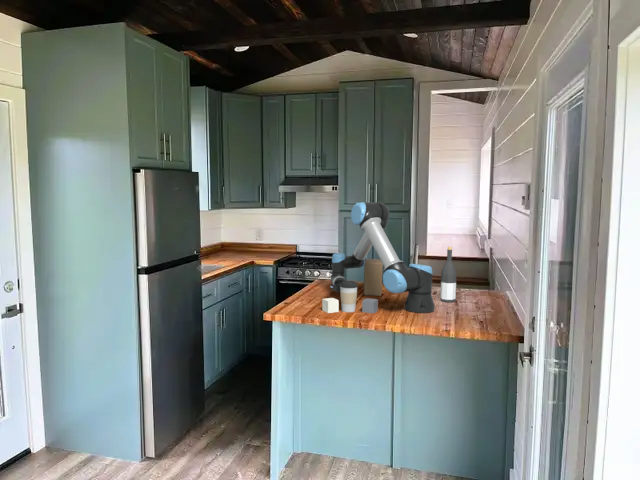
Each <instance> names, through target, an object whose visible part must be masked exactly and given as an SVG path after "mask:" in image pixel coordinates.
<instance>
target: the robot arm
mask: <svg viewBox="0 0 640 480" xmlns="http://www.w3.org/2000/svg"><path fill="white" fill-rule="evenodd" d="M390 217H391V214H390V210H389V208H388V206H387V205H386V204H384V203H382V202H380V201H375V202H371V201H370V202H368V201H367V202H364V201H362V202H356V203H355V204H354V205H353V207H352V208H351V211H350V220H351V222H352V223H353V225H355V226H359V227H360V229H361V231H362V232H364V233H363V235H362V237H361V239H360V241H359V243H358V244H357V246H356V247H355V249H354V251H353V253H352V254H351V255H346V254H345V253H342V252H335V253H333V254H332V257H331V277H330V281H331V284H330V290H333V292H336V293H338V294H339V293H340V291H341V290H340V284H341V283H342V281H347V280H346V278H345V273H346V270H348V269H349V270H350V269H361V268H363V267H364V268H365V259H367V258H366V257H367V256H368V253H369V252H370V250H371V249H372V247H373V249H374V250H375V253H376V255H377V256H378V259H380V261H381V262H382V264H383V272H382V285H383V286H384V287H385V289H386V290H387V291H388V292H390V293H391V294H402V293H406V292H408V294H407V297H406V299H405V302H404V310H406V311H408V312H411V313H419V314H420V313H421V314H426V313H427V314H428V313H432V312H435V310H436V308H435V307H436V306H435V303H434V299H433V295H432V294H433V293H432V292H433V290H432V289H433V275H434V274H433V268H432V266H430V265H425V264H419V263H418V264H417V263H410V264H409V266H408V267H407V265H406V263H405V261H403V260H400V258H399V256H398V255H397V253H396V251H395V249H394V248H393V245H392V243H391V241H390V240H389V238H388V236H387V234H386V232H385V229H386V227H387V226H388V224H389V222H390Z"/></svg>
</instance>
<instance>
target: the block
mask: <svg viewBox="0 0 640 480" xmlns="http://www.w3.org/2000/svg"><path fill="white" fill-rule="evenodd" d="M383 271H384V266H383V264H382V262H381V261H380V259H379V258H366V259H365V266H364V274H363V275H364V276H363V294H364V296H368V297H369V296H370V297H373V296H374V297H381V296H382V294H383V291H382V290H383Z"/></svg>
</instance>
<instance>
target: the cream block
mask: <svg viewBox="0 0 640 480" xmlns="http://www.w3.org/2000/svg"><path fill="white" fill-rule="evenodd" d="M321 300H322V301H321V302H322V309H321V310H322V311H323V312H325V313H327V314H332V313H339V310H340V309H339V308H340V307H339V306H340V304H339V299H336V298H334V297H328V298H327V297H326V298H322V299H321Z"/></svg>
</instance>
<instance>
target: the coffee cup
mask: <svg viewBox="0 0 640 480" xmlns="http://www.w3.org/2000/svg"><path fill="white" fill-rule="evenodd" d="M358 287H359V286H358V284H357V283H356V281H354V280H346V281H342V283H341V284H340V290H341V291H340V292H339V293H340V304H341V311H342V312H344V313H355V312H356V305H357V297H358Z"/></svg>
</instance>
